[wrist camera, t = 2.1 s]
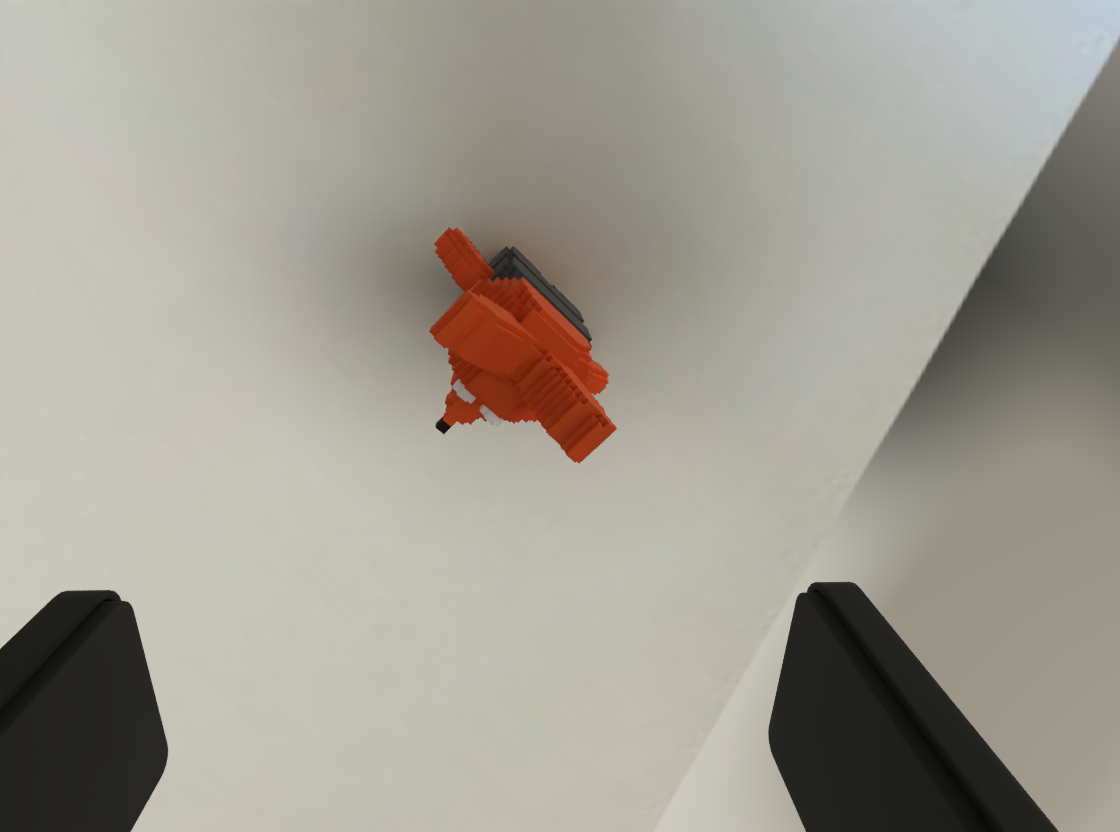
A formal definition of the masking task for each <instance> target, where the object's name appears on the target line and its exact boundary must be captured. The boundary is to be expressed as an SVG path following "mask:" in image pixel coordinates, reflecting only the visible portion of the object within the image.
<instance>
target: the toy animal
mask: <svg viewBox="0 0 1120 832" xmlns="http://www.w3.org/2000/svg"><path fill="white" fill-rule="evenodd" d="M434 245H435V246H437V247H438V248H437V250H436V251H435V253H436V254H437V255H439V256H438V257H439V258H440V259H441V260H442V262H443V263H444V264H445V267H446V268H447V269H448V270H449V271H448V272H450V273H451V274H452V278H453V279H454V280H455V281H456V283H457V284H458V285H459V286H460V287H461V288H462V289H463V290H464V291H465V293H463V295H462V296H461V297H460V298H459V299H458V300H457V301H456V302H455V303H454V304H453V305H452V306H451V307H450V308H449V309H448V310H447V312H446V313H445V314H444V315H443V316H442V317H441V318H440V319H439V320H438V321H437V322H436V323H435V324H434V325H433V326H432V327H431V329H430V331H429V332H430V333H431V334H432V335H433V336H434V339H435V340H436V341H437V342H438V343H439V344H441V345H442V346H443V347H444V348H446V347H447V348H448V349H449V351H448V355H449V356H450V358H449V361H448V362H449V363H450V364H451V365H452V366H453V367H452V370H453V371H454V373H453V376H452V380H451V385H452V390H451V392H450V393H449V394H448V395H447V397H446V401H445V404H446V405H447V407H446V412H445V413H444V416H443V417H442V418H441V419H440V420H439V421H438V422H437V423H436V428H437V429H438V430H439V431H441V432H442V433H443V434H445V433H446V432H447V431H448V430H449V429H450V428H451V427H452V426H453V425H454V424H455V423H456V422H457V421H458V422H459V423H461V424H462V425H463V424H464V423H467V422H468V423H469V424H470V425H471V424H472V423H473V422H474V421H475V420H476V419H479V418H480V417H481V418H482V419H483V420H484V421H488V422H490V423H491V424H492V425H493V424H495V425H496V426H498V425H499V424H500V423H501V422H502V421H503V420H505V421H506V420H508V421H509V422H513V423H515V422H516V421H517V422H519V421H521V420H522V419H523V420H524V421H525V422H527V421H528V420H530V421H531V420H532V421H533V422H535V421H536V420H538V421H539V422H540V423H541V426H542V427H543V428H545V429H546V433H548V434H549V435H550V436H551V437H552V438H553V439H554V440H556V441H557V442H558V443H559V444H560V446H561V448H562V449H563V450H564V451H565V452H566V455H567V456H568V457H569V458H571V459H572V460H573V461H574V462H576V461H577V462H578V463H580V462H581V461H582V460H584V459H585V458H586V457H587V456H588V455H589V454H590V453H591V452H592V451H593V450H594V449H596V448H597V447H598V446H599V445H600V444H601V443H602V442H603V441H604V440H605V439H606V438H608V437H609V436H610V435H611V434H612V433H613V432H614V431H615V430H616V429H617V428H616V426H615V425H614V424H613V423H612V422H611V420H610V419H609V418H608V417H607V416H606V414H605V411H604V409H603V407H601V406H600V405H599V403H598V401H597V400H596V399H595V398H594V397H593V395H592V394H591V393H593V394H594V395H596V394H597V393H600V392H601V391H602V390H603V389H604V388H605V387H606V386H605V385H606V384H607V383H608V379H607V377H608V376H609V375H608V373H607V372H606V371H605V370H604V369H603V368H602V367H601V366H600V365H599V364H598V363H596V362H594V361H593V360H592V358H591V355H590V353H589V351H590V350H591V347H592V346H591V344H590V341H591V340H592V339H591V336H590V334H589V332H588V329H587V328H586V327H585V326H584V325H583V322H584V320H583V318H582V316H581V313H580V312H579V311H578V310H577V308H576V307H575V306H574V305H573V304H572V303H571V302H570V301H569V300H568V299H567V298H566V297H565V296H564V295H563V294H562V293H561V292H560V291H559V290H558V289H557V288H556V287H555V286H552V285H550V284H549V283H548V282H547V281H546V280H545V278H544V277H543V276H542V275H541V273H540V272H539V271H538V270H537V269H536V268H535V267H534V266H533V265H532V264H531V263H530V262H529V261H528V260H527V259H526V258H525V257H524V256H523V255H522V254H521V253H520V252H519V251H518V250H517V249H516V248H515V247H512V248H511V249H509V248H508V247H507V246H506V247H505V248H504V249H503V250H502V251H501V252H500V253H499V254H498V255H497V256H496V257H495V258H494V260H493V261H492V262H491V263H490V264H489V265H488V264H487V262H486V261H485V260H484V259H483V256H482V255H481V254H480V252H479V251H478V250H477V249H476V247H475V246H474V245H473V244H472V242H471V241H469V240H468V238H467V237H466V236H465V235H464V234H463V233H462V232H461V231H460V230H459V229H458V228H457V227H456V229H454V230H451V229H450V228H448V229H447V230H446V231H445V232H444V234H443V235H442V236H441V237H440V238H439V239H438V240H437V241H436V242H435V244H434Z"/></svg>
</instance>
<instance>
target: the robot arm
mask: <svg viewBox="0 0 1120 832" xmlns="http://www.w3.org/2000/svg"><path fill="white" fill-rule="evenodd" d="M769 744H770V748H771V752H772V755H773V757H774V759H775V762H776V764H777V766H778V769H779V771H780V773H781V775H782V778H783V780H784V782H785V785H786V787H787V789H788V792H789V794H790V796H791V798H792V800H793V803H794V805H795V807H796V810H797V812H798V814H799V816H800V819H801V821H802V823H803V826H804V828H805V830H806V832H1058V830H1057V829H1056V828H1055V826H1054V825H1053V824H1052V823H1051V822H1050V820H1049V819H1048V818H1047V817H1046V815H1045V814H1044V813H1043V812H1042V811H1041V809H1040V808H1039V807H1038V806H1037V805H1036V803H1035V802H1034V801H1033V800H1032V798H1031V797H1030V796H1029V795H1028V793H1027V792H1026V791H1025V790H1024V789H1023V787H1022V786H1021V785H1020V784H1019V782H1018V781H1017V780H1016V779H1015V777H1014V776H1013V775H1012V774H1011V773H1010V771H1009V770H1008V769H1007V768H1006V766H1005V765H1004V764H1003V763H1002V762H1001V760H1000V759H999V758H998V757H997V756H996V754H995V753H994V752H993V751H992V750H991V748H990V747H989V746H988V744H987V743H986V742H985V741H984V739H983V738H982V737H981V736H980V735H979V733H978V732H977V731H976V730H975V728H974V727H973V726H972V725H971V724H970V722H969V721H968V720H967V719H966V718H965V716H964V715H963V714H962V713H961V711H960V710H959V709H958V708H957V706H956V705H955V704H954V703H953V702H952V700H951V699H950V698H949V697H948V695H947V694H946V693H945V692H944V691H943V689H942V688H941V687H940V686H939V685H938V683H937V682H936V681H935V679H934V678H933V677H932V676H931V675H930V673H929V672H928V671H927V670H926V668H925V667H924V666H923V665H922V664H921V662H920V661H919V660H918V659H917V657H916V656H915V655H914V654H913V652H912V651H911V650H910V649H909V648H908V646H907V645H906V644H905V643H904V641H903V640H902V639H901V638H900V637H899V635H898V634H897V633H896V632H895V630H894V629H893V628H892V627H891V626H890V624H889V623H888V622H887V621H886V620H885V618H884V617H883V616H882V615H881V613H880V612H879V611H878V610H877V609H876V607H875V606H874V605H873V604H872V602H871V601H870V600H869V599H868V597H867V596H866V595H865V594H864V592H863V591H862V590H861V589H860V588H859V587H858V586H857V585H856V584H855V583H852V582H815V583H812V584H811V586H809V588H808V591H807V593H800V594H799V595H798V597H797V600H796V604H795V609H794V613H793V618H792V622H791V627H790V632H789V636H788V641H787V645H786V650H785V655H784V659H783V664H782V669H781V674H780V678H779V683H778V687H777V692H776V696H775V701H774V706H773V710H772V715H771V720H770V724H769ZM167 757H168V746H167V741H166V737H165V733H164V729H163V725H162V721H161V717H160V713H159V709H158V705H157V701H156V698H155V694H154V690H153V686H152V682H151V678H150V674H149V670H148V666H147V662H146V658H145V654H144V650H143V646H142V642H141V638H140V634H139V630H138V626H137V622H136V618H135V615H134V611H133V608H132V606H131V604H130V603H129V602H126V601H121V599H120V596H119V595H118V594H117V593H116V592H114V591H110V590H89V591H65V592H61V593H60V594H58V595H57V596H55V597H54V598H53V599H52V600H51V601H50V602H49V603H48V604H47V605H46V606H45V607H44V608H42V609H41V610H40V611H39V612H38V613H37V614H36V615H35V616H34V617H33V618H32V619H31V620H30V621H29V622H28V623H27V624H26V625H25V626H24V627H23V628H22V629H21V630H20V631H19V632H17V633H16V634H15V635H14V636H13V637H12V638H11V639H10V640H9V641H8V642H7V643H6V644H5V645H4V646H3V647H2V648H1V649H0V832H130V831H131V830H132V828H133V826H134V824H135V823H136V821H137V819H138V817H139V816H140V814H141V812H142V810H143V808H144V807H145V805H146V803H147V801H148V800H149V798H150V796H151V794H152V793H153V791H154V789H155V787H156V785H157V784H158V782H159V780H160V778H161V776H162V774H163V772H164V769H165V766H166V762H167Z"/></svg>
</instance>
